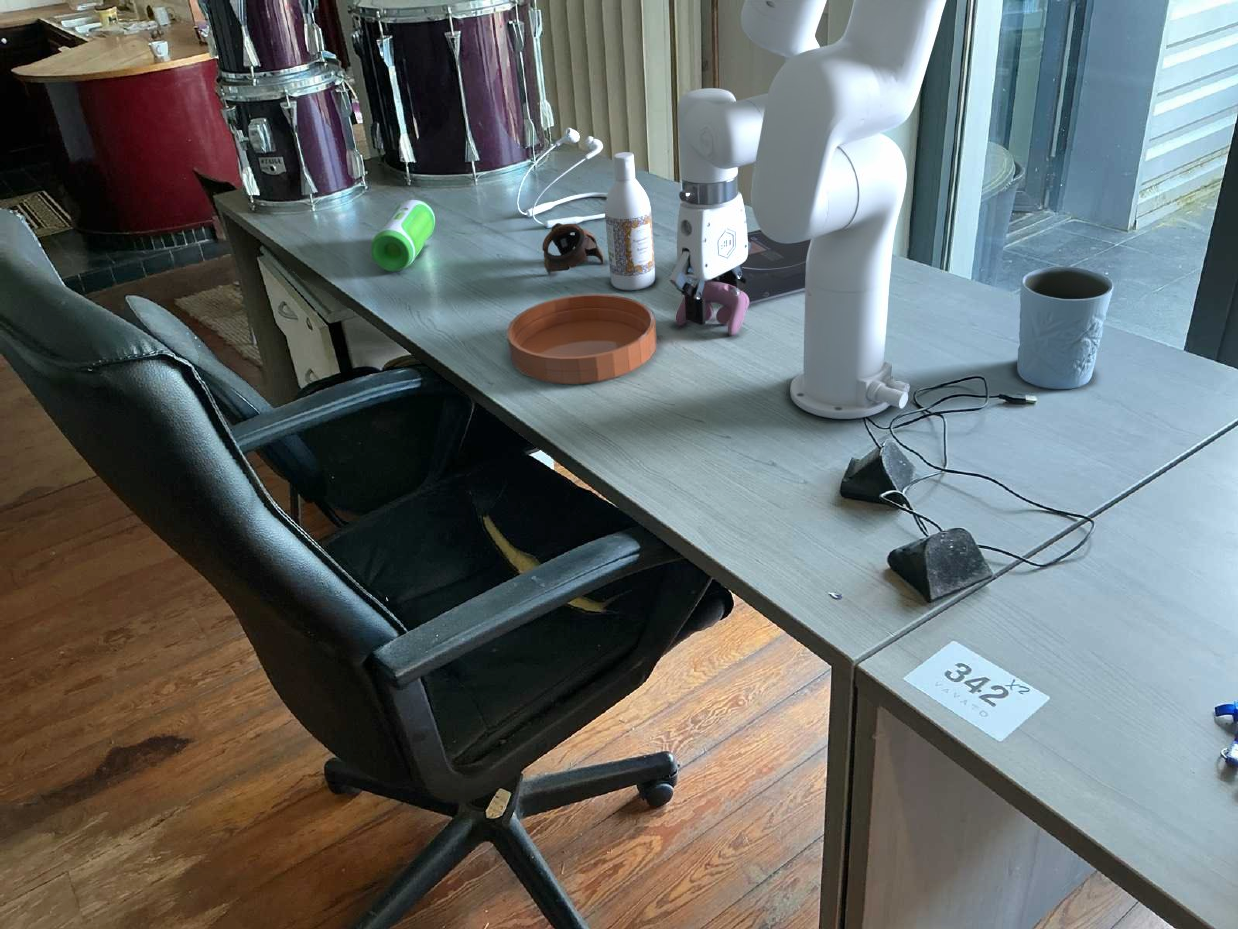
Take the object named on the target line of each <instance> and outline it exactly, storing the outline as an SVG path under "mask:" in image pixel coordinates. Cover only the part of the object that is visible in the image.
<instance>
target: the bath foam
mask: <svg viewBox="0 0 1238 929" xmlns="http://www.w3.org/2000/svg"><path fill="white" fill-rule="evenodd" d="M613 165H614V167H613V168H614V177H615V180H614V182H613V184H612V185H611V187H610V189H609V192H608V193H607V194H608V196H607V197H606V199H605V204H604V213H605V217H604V221H605V232H606V242H607V253H608V254H607V255H608V265H609V275H610V276H609V277H610V283H611V285H612V286H613V287H614V288H616V289H618V290H622V291H637V290H642V289H646V288H648V287H650V286H652V285H653V284H654V282H655V281H656V269H655V254H654V253H655V252H654V251H655V250H654V236H653V222H652V221H653V220H652V208H651V202H650V199H649V197H648V195H647V194H648V193H646V191H645V190H644V188H643V187H642V185H641V184H640V182H639V181H638V180H637V179H636V170H635V157H634V154H633V152H628V151H623V152H618V153H615V154H614V155H613Z"/></svg>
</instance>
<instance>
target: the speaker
mask: <svg viewBox="0 0 1238 929" xmlns="http://www.w3.org/2000/svg"><path fill="white" fill-rule="evenodd" d="M435 227H436V216H435V212H434V210H433V209H432V207H431V206H430V205H429V204H428V203H426V202H425V201H422V200H420V199H409V200H406V201H404V202H402V203H400V204H399V205H398V206H397V207H396V208H395V210H394V213H392V215H391V216H390V218H389V219H388V220H387V221H386V223H385V224H384V225H383V226H382V227H381V228H380V229H379V230H378V231H377V232H376V234H375V235H374V237H373V238H372V242H371V255H372V258H373V260H374V262H375V264H377V265H378V266H379V267H380V268H382V269H383V270H385V271H388V272H394V273H395V272H400V271H402V270H404V269H406V268H408V267H409V266H411V265H412V264H413V263H414V261H415V259H417V257H418V255H419V253H420V252H421V250H422V249H423V248H424V245H425V243H426V241H427V240H428V239H429V238H430V237H431V235H432V234H433V233H434V231H435Z"/></svg>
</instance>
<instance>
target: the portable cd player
mask: <svg viewBox="0 0 1238 929" xmlns="http://www.w3.org/2000/svg"><path fill="white" fill-rule="evenodd" d="M747 240H748V241H749V242H750V243H751V248H750V250H749V252H748V255H747V259H746V261H745V263H744V265H743V267H742V269H741V271H742V276H741V278H740V279H738V280H739V290H740V291H743V292H744V293H745V294H746V295H747V296H748V298H749V305H753V304H758V303H761V302H764V301H768V300H772V299H773V300H774V299H776V298H781V297H784V296H788V295H792V294H795V293H796V294H797V293H800V292H803V291H804V292H805V276H806V259H807V253H808V249H809V245H810V242H811V239H809V240H805V241H802V242H797V243H788V244H786V243H779V242H776V241H774V240H772V239H770V238H768V237H767V236H766V235H765V234H764V233H763V232H762V231H761V230H760V229H757V230H752V231H747ZM721 275H723V274H721ZM721 275H719V276H721ZM719 276H717V277H715V278H713V279H711V280H710V281H716V282H719ZM723 276H724V275H723Z"/></svg>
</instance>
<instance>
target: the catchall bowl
mask: <svg viewBox="0 0 1238 929" xmlns="http://www.w3.org/2000/svg"><path fill="white" fill-rule="evenodd" d="M656 325H657V324H656V317H655V315H654V312H653V311H652V310H651V309H650V308H649V307H648V306H647V305H645V304H644V303H642V302H640V301H638V300H634V299H632V298H629V297H625V296H620V295H615V294H614V295H613V294H602V293H600V294H599V293H593V294H591V293H590V294H589V293H588V294H576V295H568V296H563V297H558V298H553V299H550V300H547V301H544V302H540V303H537V304H536V305H534V306H531V307H529V308H527V309H525V310H524V311H521V312H520V313H519V314H517V315H516V316H515V317H514V318H513V319H512V321H510V323H509V325H508V326H507V329H506V338H507V345H508V352H509V359H510V361H511V363H512V365H513V367H514V368H515V369H516V370H517V371H519V372H520V373H521V374H523V375H526V376H527V377H530V378H532V379H535V380H538V381H541V382H544V383H545V382H546V383H551V384H560V385H584V384H593V383H599V382H604V381H608V380H609V381H610V380H612V379H615V378H618V377H621V376H624V375H626V374H629V373H631V372H632V371H634V370H636V369H638V368H639V367H641V366H643V365H644V364H645V363H646V362H647V361H648V360H650V359H651V357H652V356H653V354H654V353H655V352H656V349H657V345H658V344H657V343H658V341H657V340H658V339H657V326H656Z"/></svg>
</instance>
